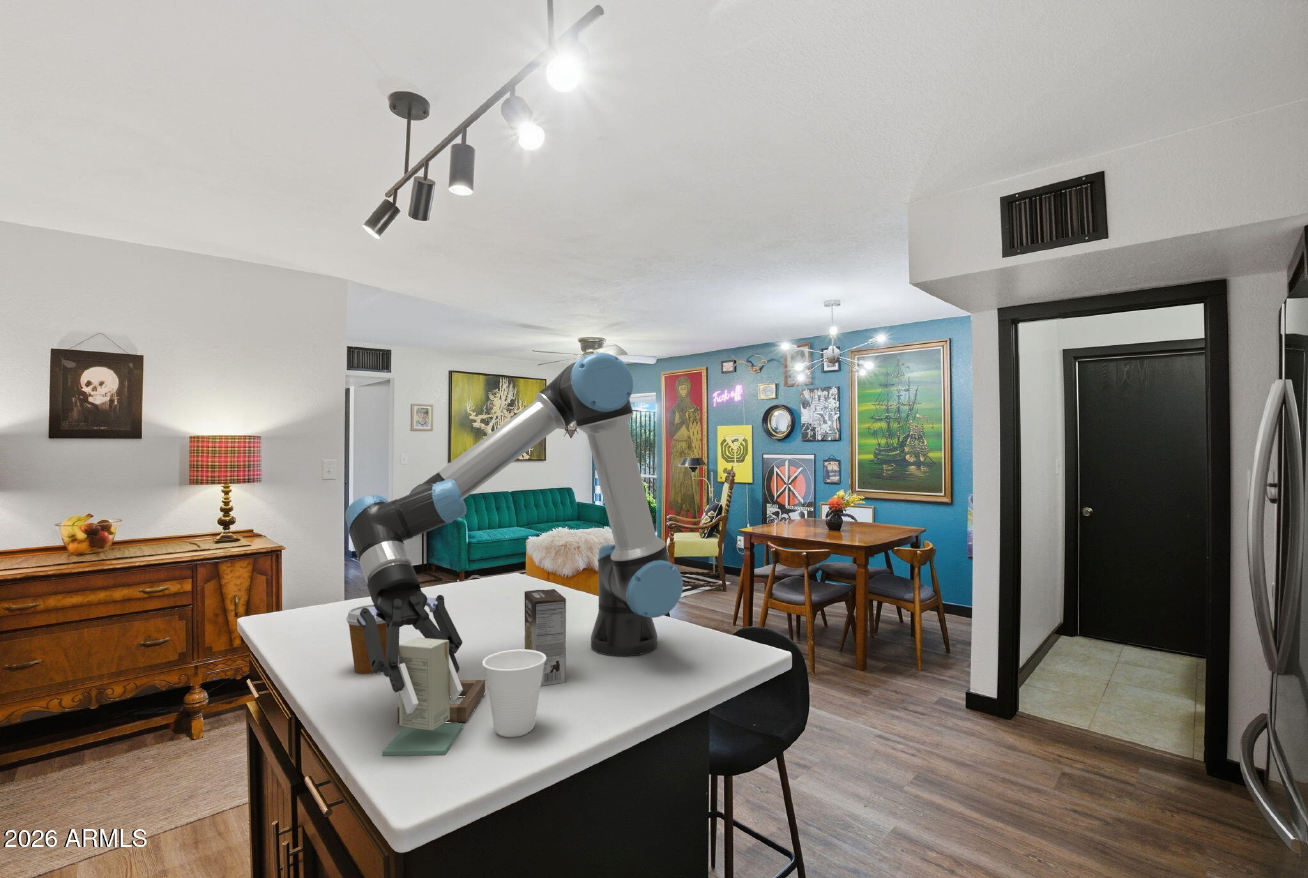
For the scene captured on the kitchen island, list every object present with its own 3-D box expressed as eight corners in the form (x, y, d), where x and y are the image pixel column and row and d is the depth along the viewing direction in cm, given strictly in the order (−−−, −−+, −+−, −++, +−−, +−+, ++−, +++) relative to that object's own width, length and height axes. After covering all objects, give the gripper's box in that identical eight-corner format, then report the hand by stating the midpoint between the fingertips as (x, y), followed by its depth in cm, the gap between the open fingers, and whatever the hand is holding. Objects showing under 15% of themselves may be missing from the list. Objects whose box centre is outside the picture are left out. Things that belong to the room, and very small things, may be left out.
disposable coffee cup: (377, 678, 118) (377, 616, 118) (334, 675, 120) (335, 613, 120) (406, 662, 128) (407, 604, 128) (366, 659, 129) (367, 602, 130)
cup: (488, 717, 100) (488, 649, 101) (549, 714, 101) (549, 648, 102) (476, 745, 91) (476, 671, 91) (543, 742, 91) (543, 668, 92)
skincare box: (450, 720, 93) (451, 639, 94) (431, 732, 89) (433, 648, 90) (416, 714, 95) (417, 635, 96) (396, 725, 91) (397, 643, 92)
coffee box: (523, 671, 121) (523, 590, 122) (555, 667, 124) (555, 587, 124) (533, 687, 113) (533, 600, 114) (566, 682, 116) (566, 597, 116)
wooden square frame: (485, 693, 110) (485, 679, 110) (466, 722, 98) (466, 707, 98) (424, 694, 110) (424, 680, 110) (397, 723, 98) (397, 707, 98)
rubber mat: (463, 726, 97) (463, 723, 97) (445, 754, 88) (445, 750, 88) (406, 727, 97) (406, 723, 97) (382, 755, 88) (382, 751, 88)
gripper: (437, 580, 110) (484, 696, 99) (322, 598, 97) (361, 735, 85) (451, 554, 107) (502, 671, 95) (334, 569, 93) (377, 707, 81)
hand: (435, 701), depth 90 cm, fingers closed on skincare box, 6 cm apart
